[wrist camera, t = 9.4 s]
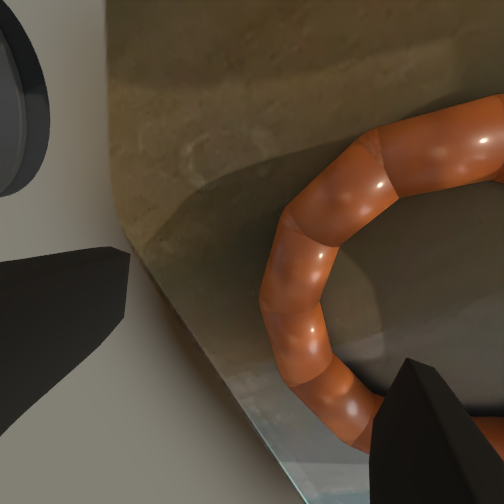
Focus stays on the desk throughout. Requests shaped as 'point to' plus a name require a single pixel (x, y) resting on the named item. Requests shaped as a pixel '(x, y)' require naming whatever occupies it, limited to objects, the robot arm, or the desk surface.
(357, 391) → the ring
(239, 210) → the desk surface
